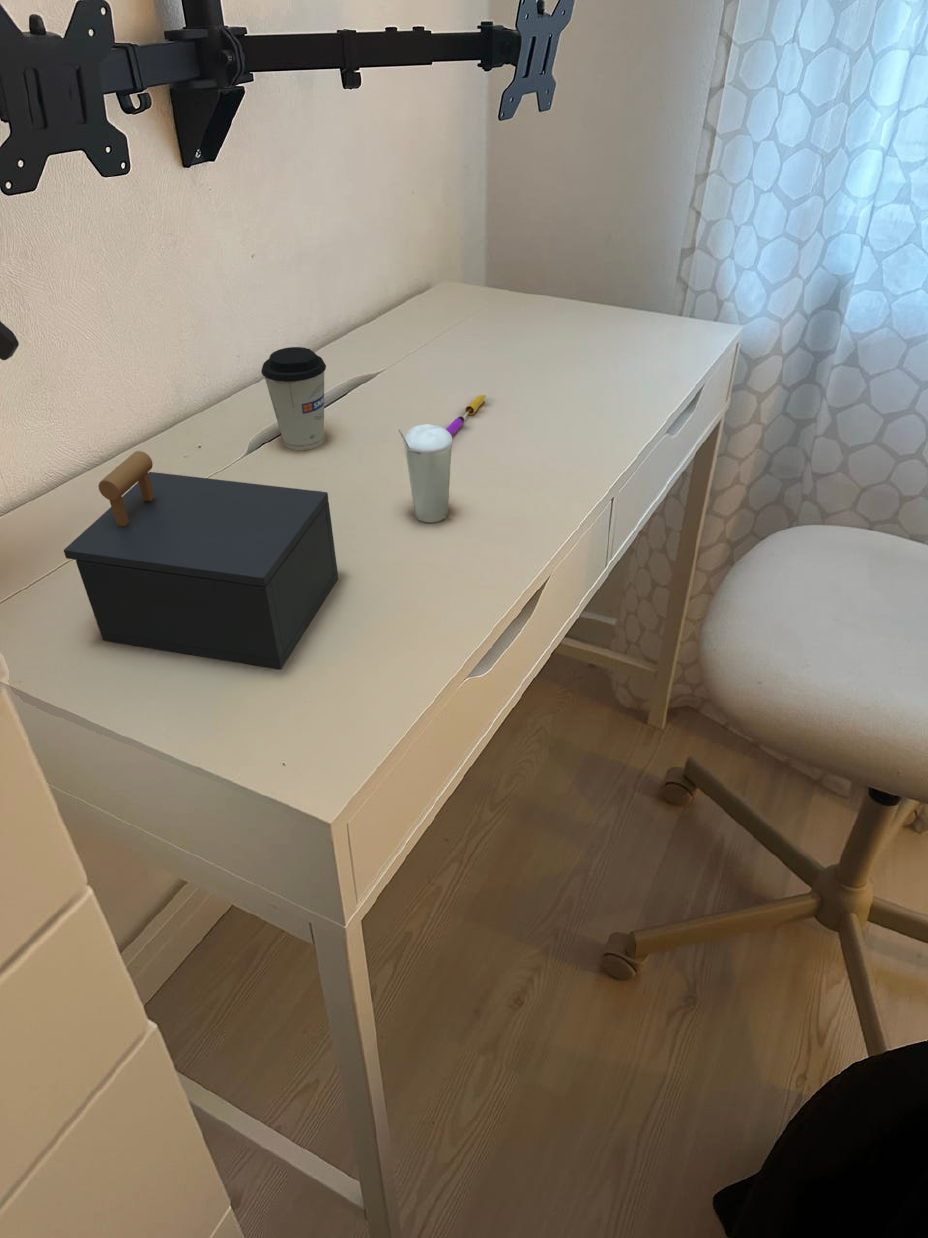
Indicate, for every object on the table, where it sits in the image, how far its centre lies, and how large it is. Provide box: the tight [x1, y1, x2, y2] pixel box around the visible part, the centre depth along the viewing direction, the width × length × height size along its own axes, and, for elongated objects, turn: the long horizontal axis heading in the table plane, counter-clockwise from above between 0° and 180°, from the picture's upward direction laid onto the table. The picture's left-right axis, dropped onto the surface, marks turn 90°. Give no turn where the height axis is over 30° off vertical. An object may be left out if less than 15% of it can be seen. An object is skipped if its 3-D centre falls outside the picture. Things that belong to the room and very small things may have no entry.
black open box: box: [75, 501, 339, 670], centre depth 74 cm, size 16×13×8 cm
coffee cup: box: [260, 346, 327, 451], centre depth 98 cm, size 7×7×10 cm
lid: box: [63, 450, 329, 586], centre depth 70 cm, size 17×13×5 cm
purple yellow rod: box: [445, 394, 487, 436], centre depth 103 cm, size 3×1×16 cm
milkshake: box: [397, 423, 453, 524], centre depth 85 cm, size 4×5×10 cm
